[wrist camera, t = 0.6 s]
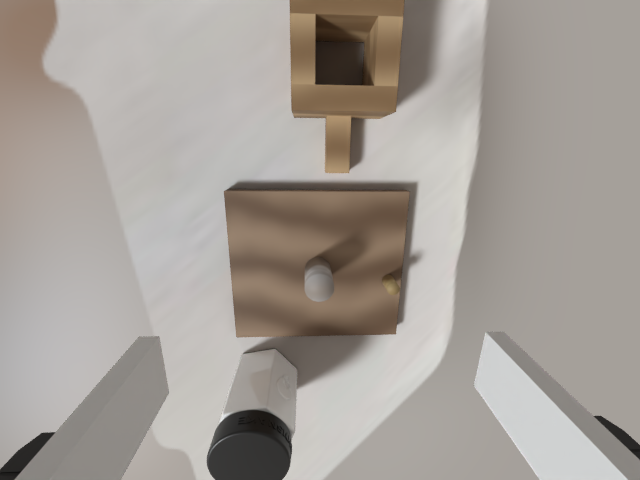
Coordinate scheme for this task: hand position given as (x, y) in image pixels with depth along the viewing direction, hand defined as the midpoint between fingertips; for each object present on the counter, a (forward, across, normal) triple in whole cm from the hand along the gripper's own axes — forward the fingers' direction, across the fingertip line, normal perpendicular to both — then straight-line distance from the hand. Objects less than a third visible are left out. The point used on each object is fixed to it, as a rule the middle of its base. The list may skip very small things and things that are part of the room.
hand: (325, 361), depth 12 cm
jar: (+23, -6, -21) cm, 32 cm away
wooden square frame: (+23, +2, +13) cm, 27 cm away
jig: (+23, +1, -5) cm, 24 cm away
